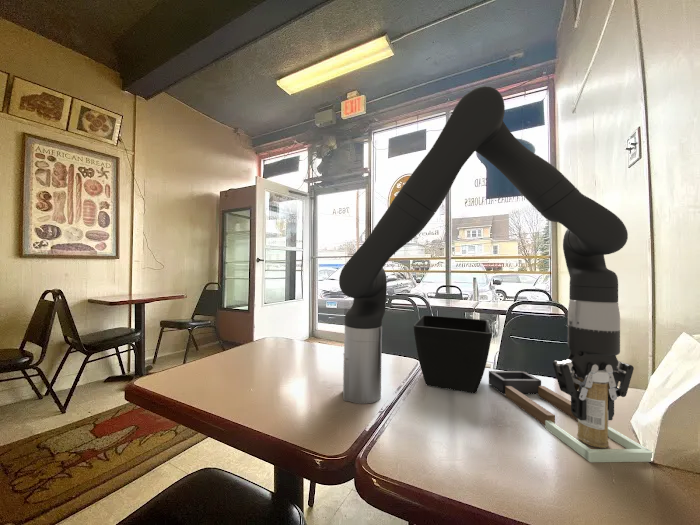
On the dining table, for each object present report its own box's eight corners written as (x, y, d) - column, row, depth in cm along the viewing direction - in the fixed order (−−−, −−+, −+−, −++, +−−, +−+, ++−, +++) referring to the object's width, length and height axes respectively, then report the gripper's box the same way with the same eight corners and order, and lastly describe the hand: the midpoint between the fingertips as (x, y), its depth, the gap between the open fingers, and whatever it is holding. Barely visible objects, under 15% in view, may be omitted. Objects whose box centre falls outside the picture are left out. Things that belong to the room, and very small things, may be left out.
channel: (547, 428, 59) (547, 415, 59) (505, 396, 74) (505, 385, 74) (595, 427, 60) (595, 415, 60) (543, 396, 75) (543, 386, 75)
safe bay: (590, 462, 49) (590, 453, 49) (545, 428, 59) (545, 420, 59) (654, 461, 49) (654, 452, 49) (598, 427, 60) (598, 420, 60)
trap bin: (502, 394, 75) (503, 380, 75) (488, 383, 82) (488, 371, 82) (541, 394, 76) (541, 380, 76) (523, 383, 83) (523, 371, 83)
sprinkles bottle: (612, 444, 54) (612, 369, 54) (603, 452, 51) (603, 373, 52) (582, 432, 58) (582, 362, 58) (572, 439, 55) (572, 366, 55)
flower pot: (491, 402, 70) (492, 331, 71) (411, 389, 77) (412, 324, 78) (487, 376, 88) (487, 319, 88) (422, 367, 95) (423, 315, 95)
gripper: (571, 328, 51) (571, 429, 50) (650, 329, 51) (651, 429, 51) (541, 321, 58) (540, 408, 58) (610, 322, 59) (610, 408, 59)
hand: (592, 417), depth 55 cm, fingers closed on sprinkles bottle, 4 cm apart
